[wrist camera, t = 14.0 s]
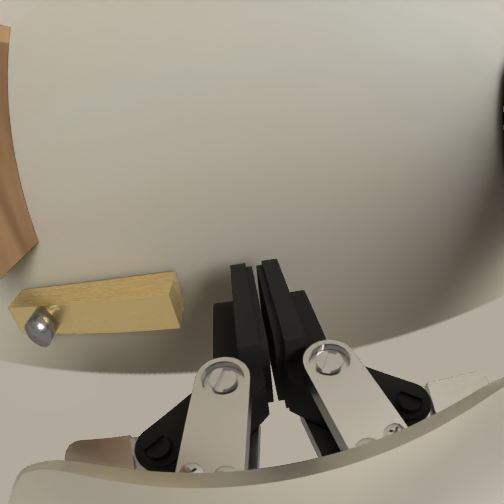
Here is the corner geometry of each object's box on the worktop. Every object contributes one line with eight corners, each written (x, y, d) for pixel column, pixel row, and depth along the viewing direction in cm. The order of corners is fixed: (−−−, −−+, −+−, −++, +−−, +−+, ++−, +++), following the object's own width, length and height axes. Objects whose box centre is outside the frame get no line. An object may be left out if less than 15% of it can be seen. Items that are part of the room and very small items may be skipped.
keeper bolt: (175, 270, 11) (164, 313, 8) (184, 302, 11) (177, 346, 9) (22, 289, 10) (-2, 320, 8) (35, 314, 11) (14, 346, 9)
